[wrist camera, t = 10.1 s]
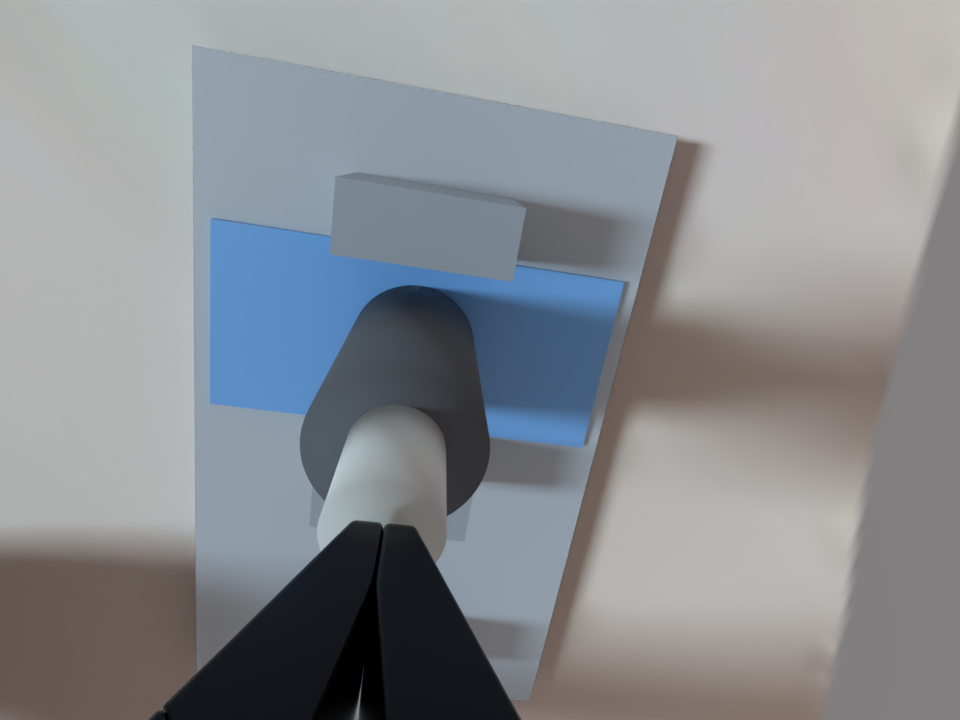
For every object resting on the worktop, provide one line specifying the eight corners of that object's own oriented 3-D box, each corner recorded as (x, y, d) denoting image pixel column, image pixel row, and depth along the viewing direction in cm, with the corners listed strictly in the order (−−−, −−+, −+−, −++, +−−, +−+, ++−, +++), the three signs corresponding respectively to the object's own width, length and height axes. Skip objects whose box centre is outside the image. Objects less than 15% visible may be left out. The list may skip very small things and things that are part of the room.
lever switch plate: (207, 656, 21) (155, 767, 17) (209, 52, 14) (123, 15, 10) (525, 678, 22) (542, 786, 18) (663, 137, 15) (734, 131, 12)
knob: (347, 392, 16) (254, 619, 8) (357, 276, 15) (261, 411, 7) (464, 406, 16) (482, 637, 9) (482, 294, 15) (523, 441, 7)
